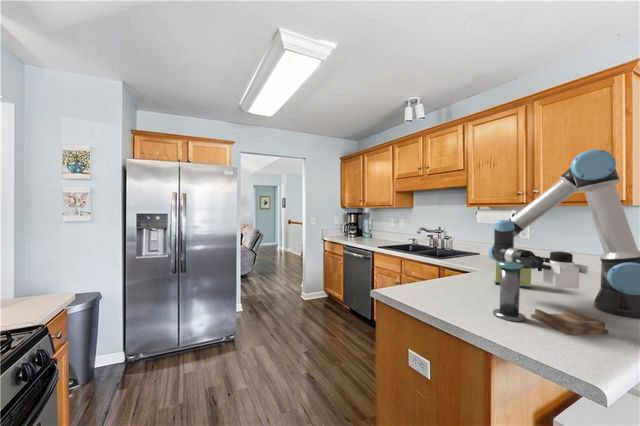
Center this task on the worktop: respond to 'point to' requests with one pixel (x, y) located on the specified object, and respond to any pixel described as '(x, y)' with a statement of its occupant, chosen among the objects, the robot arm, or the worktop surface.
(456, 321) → the worktop surface
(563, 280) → the medicine bottle
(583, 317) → the notched board
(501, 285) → the bobbin post
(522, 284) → the protein box
